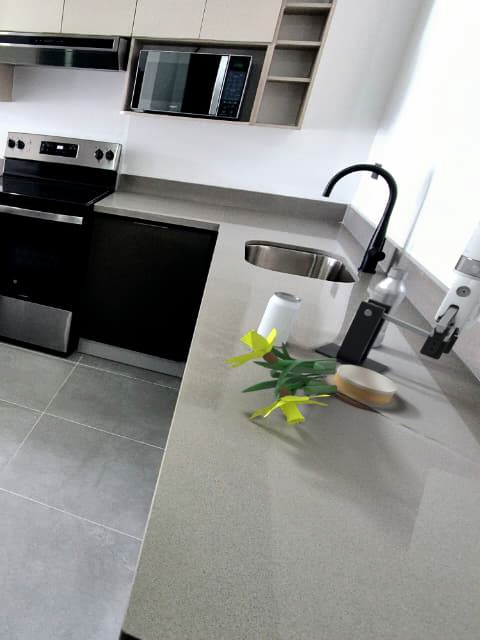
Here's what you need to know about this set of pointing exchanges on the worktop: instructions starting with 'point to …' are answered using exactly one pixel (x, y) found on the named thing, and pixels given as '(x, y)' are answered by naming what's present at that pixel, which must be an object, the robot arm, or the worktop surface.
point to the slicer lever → (407, 325)
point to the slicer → (360, 337)
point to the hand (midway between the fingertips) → (434, 352)
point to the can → (280, 316)
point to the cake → (363, 386)
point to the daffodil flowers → (286, 375)
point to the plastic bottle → (390, 295)
